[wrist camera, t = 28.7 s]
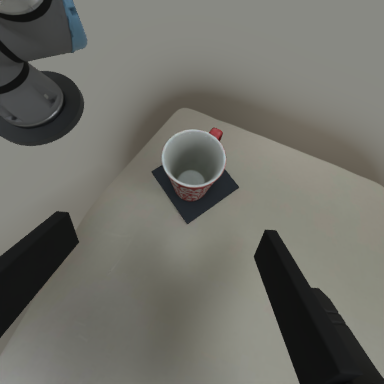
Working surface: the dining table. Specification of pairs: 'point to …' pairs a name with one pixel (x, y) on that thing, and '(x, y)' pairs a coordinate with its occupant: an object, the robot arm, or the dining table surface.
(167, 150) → the mug
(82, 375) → the dining table surface
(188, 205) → the mat
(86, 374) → the dining table surface
